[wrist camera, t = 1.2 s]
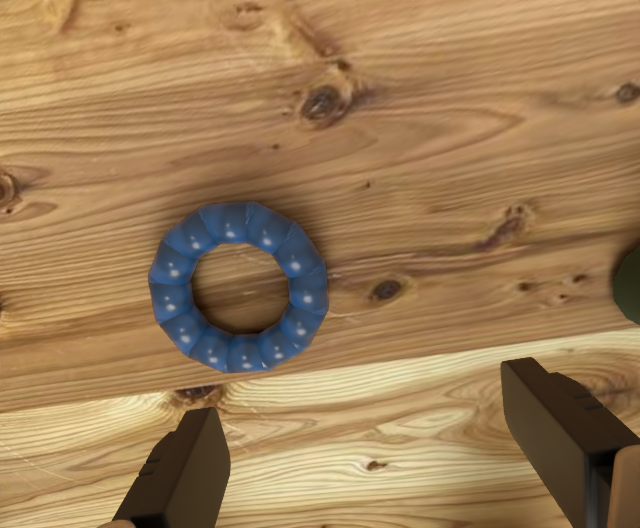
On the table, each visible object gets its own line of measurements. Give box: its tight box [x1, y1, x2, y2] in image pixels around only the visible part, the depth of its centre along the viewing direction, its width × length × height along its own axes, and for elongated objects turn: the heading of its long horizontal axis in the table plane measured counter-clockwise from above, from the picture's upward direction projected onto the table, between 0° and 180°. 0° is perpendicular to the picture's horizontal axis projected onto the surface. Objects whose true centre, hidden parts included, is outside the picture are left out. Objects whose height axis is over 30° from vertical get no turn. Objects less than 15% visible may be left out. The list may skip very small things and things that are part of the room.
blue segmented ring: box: [148, 201, 329, 373], centre depth 25 cm, size 11×11×2 cm
